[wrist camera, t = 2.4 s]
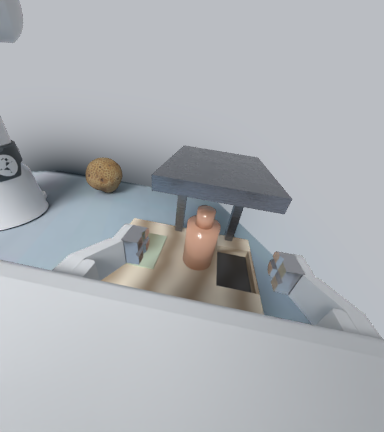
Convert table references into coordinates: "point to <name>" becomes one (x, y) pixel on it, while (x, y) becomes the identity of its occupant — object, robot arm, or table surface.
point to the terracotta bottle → (201, 238)
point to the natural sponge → (104, 174)
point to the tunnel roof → (220, 183)
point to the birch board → (193, 279)
